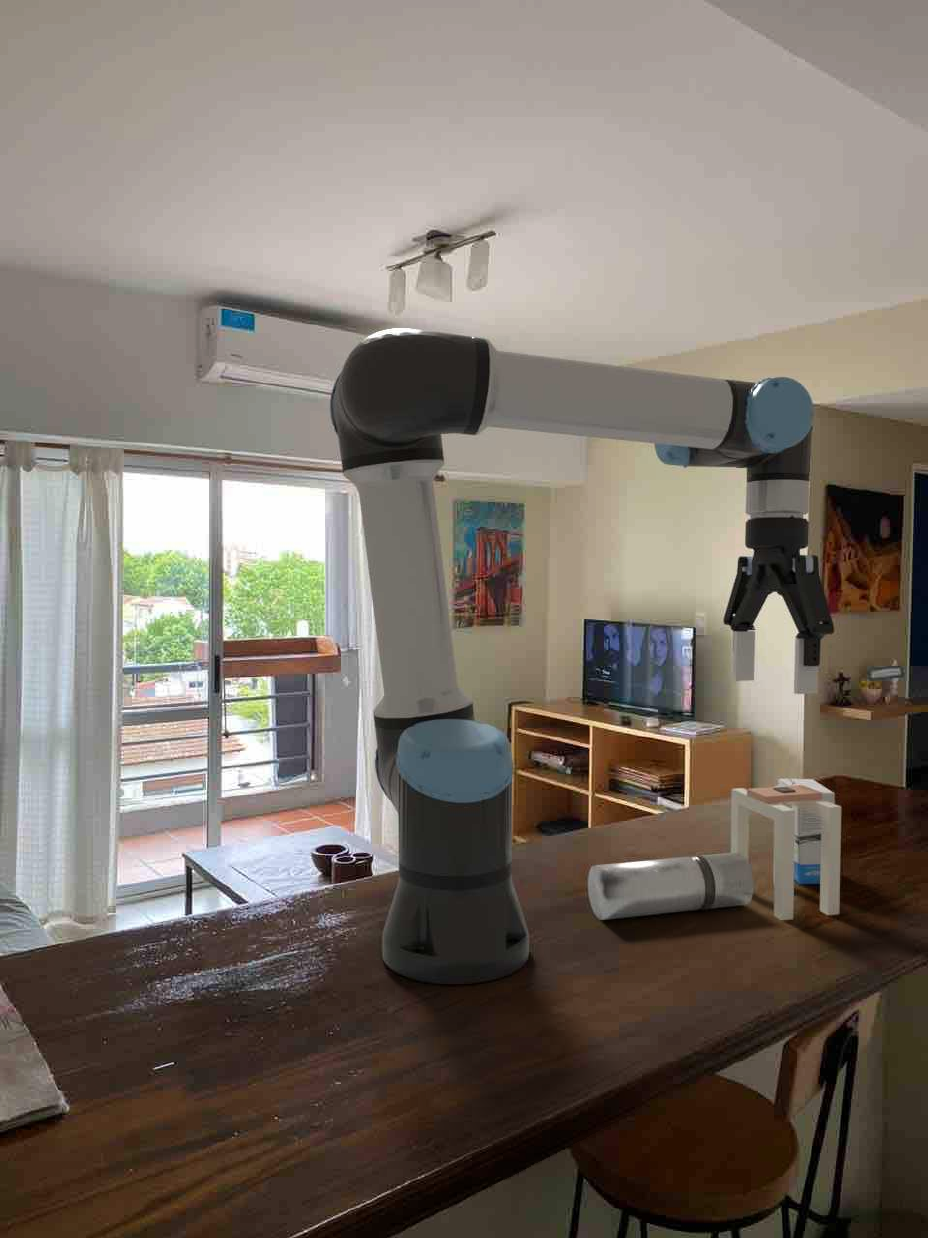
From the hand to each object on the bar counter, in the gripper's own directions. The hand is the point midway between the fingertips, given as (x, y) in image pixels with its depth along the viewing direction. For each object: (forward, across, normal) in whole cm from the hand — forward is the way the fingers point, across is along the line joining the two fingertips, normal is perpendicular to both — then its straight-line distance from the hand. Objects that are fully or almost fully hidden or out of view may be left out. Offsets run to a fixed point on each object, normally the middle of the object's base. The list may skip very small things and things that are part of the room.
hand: (772, 686), depth 118 cm
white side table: (+25, -7, +2) cm, 26 cm away
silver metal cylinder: (+25, -7, +17) cm, 31 cm away
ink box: (+25, +1, -6) cm, 26 cm away
